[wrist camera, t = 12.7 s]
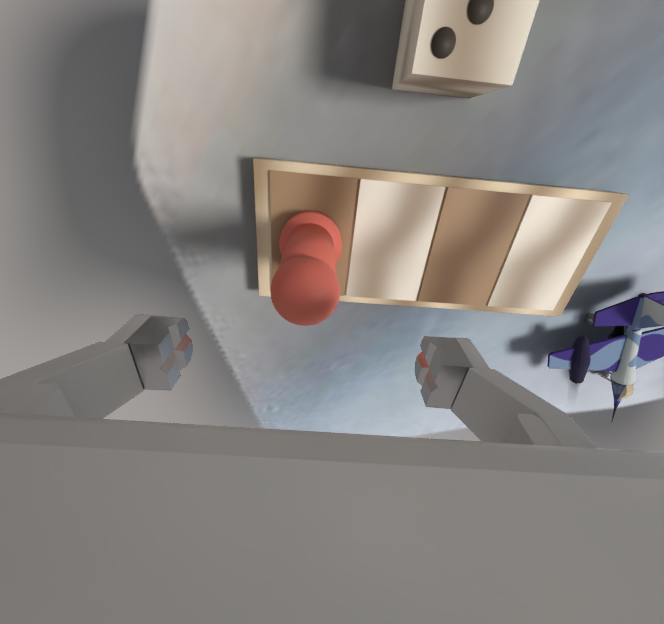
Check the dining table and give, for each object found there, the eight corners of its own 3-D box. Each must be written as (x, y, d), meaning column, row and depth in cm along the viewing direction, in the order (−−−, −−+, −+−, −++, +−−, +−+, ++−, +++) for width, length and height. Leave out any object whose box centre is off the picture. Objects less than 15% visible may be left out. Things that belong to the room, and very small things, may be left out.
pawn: (344, 213, 20) (359, 265, 12) (338, 271, 23) (346, 350, 14) (281, 207, 20) (250, 257, 12) (281, 266, 22) (255, 345, 14)
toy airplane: (592, 405, 33) (619, 432, 30) (505, 357, 29) (526, 383, 26) (714, 320, 27) (763, 342, 24) (625, 248, 24) (670, 264, 21)
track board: (614, 191, 21) (631, 194, 20) (551, 309, 26) (561, 317, 25) (256, 157, 20) (252, 158, 19) (261, 289, 25) (258, 296, 24)
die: (498, -14, 16) (562, -72, 12) (468, 98, 18) (513, 85, 14) (409, -27, 16) (441, -91, 11) (391, 89, 18) (412, 73, 14)
